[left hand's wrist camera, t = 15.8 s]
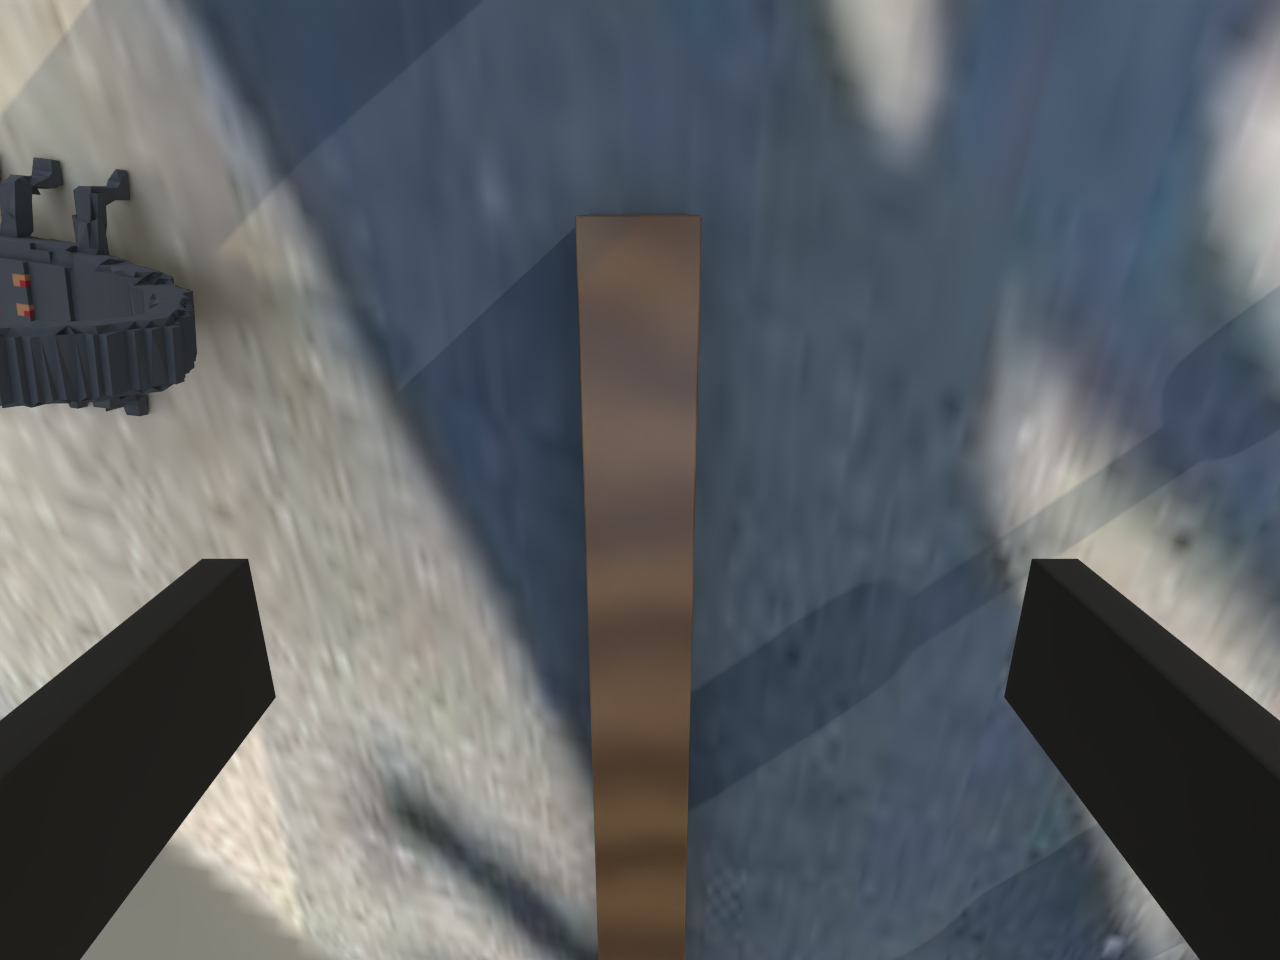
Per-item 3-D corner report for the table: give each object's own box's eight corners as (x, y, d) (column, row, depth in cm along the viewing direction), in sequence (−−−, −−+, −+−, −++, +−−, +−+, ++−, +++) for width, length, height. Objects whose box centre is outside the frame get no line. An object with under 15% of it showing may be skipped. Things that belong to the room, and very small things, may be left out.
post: (587, 214, 40) (575, 215, 32) (689, 214, 40) (701, 215, 32) (607, 985, 60) (603, 1102, 52) (675, 985, 60) (681, 1102, 52)
